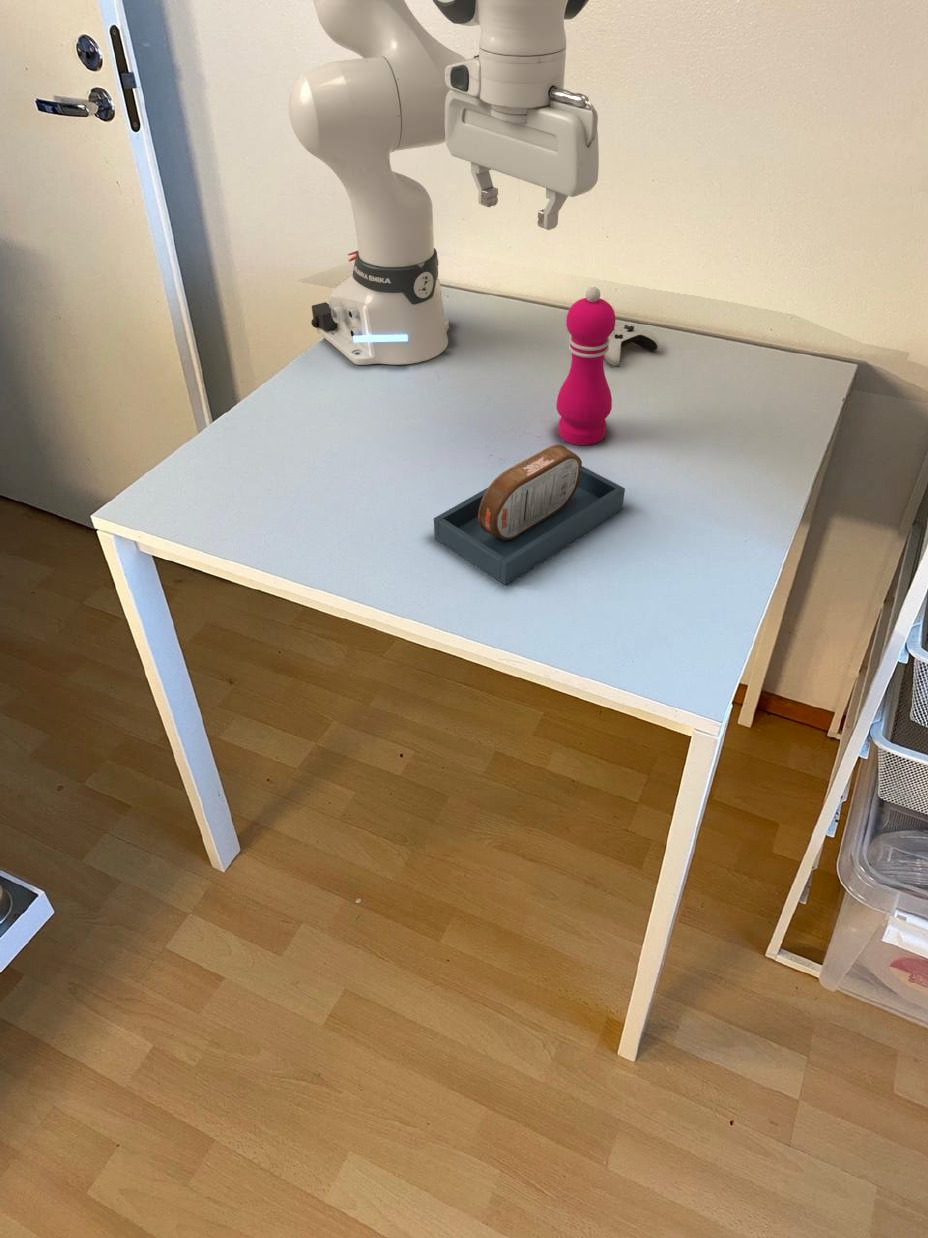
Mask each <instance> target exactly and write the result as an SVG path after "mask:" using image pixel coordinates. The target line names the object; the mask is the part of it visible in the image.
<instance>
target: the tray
mask: <svg viewBox="0 0 928 1238" xmlns="http://www.w3.org/2000/svg"><path fill="white" fill-rule="evenodd" d="M488 488H489V486H488V487H486V488H485V489H483V490H481V491H479V492H478V493H476V494H474V495H472V496H471V497H468V498H467V499H465V500H463V501H462V502H460V503H458V504H456V505H455V506H453V507H451V508H449V509H448V510H445V511H444V512H442V513H440V514H438V515H436V516H435V517H433V531H434V533H433V535H434V540H436V541H437V542H439V543H440V544H442V545H443V546H445V547H446V548H448V549H450V550H451V551H452V552H454V553H455V554H457V555H459V556H460V557H462V558H463V559H465V560H466V561H467V562H469V563H470V564H472V565H474V567H477V569H478V568H479V569H480V570H482V571H483V572H485V574H487V575H489V576H490V577H492V578H493V579H495V580H496V581H498V582H500V583H501V584H503V585H505V586H506V585H508V584H509V583H511V582H512V581H514V580H515V579H517V578H519V577H520V576H521V575H523V574H525V573H526V572H528V571H530V570H531V569H532V568H534V567H535V566H537V565H538V564H540V563H541V562H543V561H545V560H546V559H548V558H549V557H552V556H553V555H554V554H555V553H557V552H559V551H560V550H562V549H563V548H565V547H566V546H568V545H570V544H571V543H572V542H574V541H575V540H577V539H579V538H580V537H582V536H583V535H585V534H586V533H588V532H590V531H591V530H592V529H594V528H596V527H597V526H598V525H600V524H601V523H603V522H605V521H606V520H608V519H610V518H611V517H613V516H614V515H615V514H617V513H618V512H620V511H622V510H623V509H624V508H623V507H624V500H625V493H626V492H625V491H626V488H625V487H623V486H621V485H619V484H618V483H616V482H613V481H612V480H609V479H608V478H607V477H604V476H602V475H600V474H599V473H596V472H594V471H592V470H591V469H589V468H587V467H585V466H583V465H582V466H581V475H580V479H579V484H578V487H577V489H576V491H575V493H574V495H573V496H572V498H571V499H570V501H569V502H568V503H567V504H566V505H565V506H564V507H563V508H562V509H561V510H560V511H558V512H557V513H555V514H554V515H552V516H550V517H549V518H547V519H545V520H544V521H542V522H540V523H539V524H537V525H536V526H534V527H532V528H531V529H529V530H527V531H526V532H524V533H522V534H521V535H519V536H517V537H515V538H513V539H511V540H500V539H498V538H496V537H494V536H493V535H491V534H490V533H488V532H486V531H484V530H483V529H482V528H481V527H480V524H479V521H478V512H479V507H480V504H481V501H482V498H483V496H484V494H485V492H486V491H487V489H488Z"/></svg>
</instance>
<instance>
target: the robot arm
mask: <svg viewBox="0 0 928 1238" xmlns="http://www.w3.org/2000/svg"><path fill="white" fill-rule="evenodd" d="M589 1H590V0H432V3H434V5H435V7H437V9H438V10H439V11H440V13H441V14H442V15H443V16H444V17H445V18H446V19H447V20H448V21H450V22H451V23H452V24H454V25H461V26H466V27H474V26H475V27H476V26H479V27H480V39H479V43H478V54H476V55H474V56H473V57H472V58H468V59H466V57H464V56H463V55H462V54H460V53H457V52H456V51H454V50H452V49H450V48H448V47H447V46H445V45H444V44H442V43H441V42H440V41H438V40H437V39H436V38H435V37H434V36H433V35H432V34H431V33H429V32H428V30H427V29H425V27H424V26H423V25H422V24H421V23H420V22H419V20H418V19H417V18H416V17H415V15H414V13H413V12H412V11H411V9H410V8H409V6H408V5H407V4H408V3H406V0H312V2H313V4H314V8H315V11H316V14H317V18H318V22H319V24H320V26H321V28H322V29H323V31H324V32H325V33H326V35H327V36H328V37H329V38H330V39H331V40H332V41H333V42H334V43H335V44H337V45H338V46H341V47H342V48H343V49H346V50H349V51H351V52H352V53H355V54H357V55H359V56H360V57H361V58H353V59H345V60H336V61H330V62H327V63H324V64H322V65H319V66H316V67H314V68H311V69H308V70H306V71H302V72H300V73H299V74H298V75H297V77H296V78H295V80H294V82H293V84H292V86H291V89H290V94H289V100H288V115H289V121H290V124H291V128H292V130H293V133H294V135H295V137H296V138H297V140H298V141H299V143H300V144H301V145H302V147H303V148H304V149H305V150H306V151H307V152H308V153H310V155H312V156H313V157H315V158H316V159H318V160H320V161H322V162H323V163H324V164H325V165H326V166H327V167H328V168H329V169H330V170H332V171H333V173H334V174H335V175H336V176H337V178H338V179H339V180H340V182H341V183H342V186H343V187H344V189H345V191H346V193H347V196H348V198H349V201H350V204H351V209H352V214H353V215H352V216H353V220H354V226H355V227H354V228H355V234H356V242H357V250H355V251H353V252H349V253H347V256H351V257H349V258H348V259H347V260H348V262H352V261H354V264H353V270H352V274H351V275H350V276H349V277H347V278H346V279H345V280H344V281H342V282H341V283H340V284H339V285H337V286H336V287H335V288H333V290H332V291H331V292H330V295H329V299H328V302H326V301H324V302H321V303H317V304H313V305H311V312H312V319H311V322H310V323H311V325H312V326H311V327H313V328H315V330H316V332H317V333H318V334H319V335H320V336H321V337H323V338H324V339H325V340H326V341H328V343H329V344H331V345H332V346H333V347H334V348H335V349H337V350H338V351H339V352H340V353H342V354H343V355H344V356H345V357H346V358H347V359H348V360H350V361H351V362H352V363H353V364H355V365H358V366H365V365H376V364H381V365H411V364H412V365H413V364H417V363H423V362H425V361H428V360H430V359H431V360H432V359H433V358H436V357H437V356H439V355H441V354H442V353H443V352H444V351H445V350H446V349H447V347H448V346H449V337H448V334H447V333H448V332H449V329H450V322H449V320H448V318H445V317H446V316H445V309H444V302H443V295H442V285H441V282H440V279H439V278H438V277H439V258H438V251H437V250H436V248H435V241H434V240H435V239H434V238H435V237H434V234H435V233H434V211H433V210H434V209H433V207H434V206H433V201H432V199H431V195H430V193H429V191H428V190H427V189H426V188H425V186H423V184H422V183H420V182H418V181H417V180H415V179H413V178H411V177H409V176H407V175H404V174H402V173H399V172H396V171H393V169H392V166H391V154H392V153H394V152H396V151H404V150H412V149H418V148H425V147H426V148H427V147H433V146H438V145H442V144H444V143H445V145H446V147H447V150H448V152H449V153H450V156H452V157H454V158H458V159H460V160H464V161H466V162H469V163H470V173H471V176H472V178H473V180H474V183H475V185H476V189H477V190H478V192H477V194H478V200H477V202H478V204H479V205H481V206H484V207H486V208H491V207H494V206H497V204H498V202H499V197H498V195H499V188H497V187H495V186H494V184H493V180H492V176H491V172H490V171H491V170H492V171H495V172H497V173H500V174H503V175H506V176H510V177H512V178H515V179H518V180H521V181H524V182H526V183H529V184H532V185H535V186H538V187H541V188H544V189H545V198H546V199H549V200H548V202H547V204H546V206H545V208H544V209H540V210H538V211H537V219H538V220H537V226H538V227H539V228H541V229H545V230H547V231H550V230H554V229H555V228H557V226H558V224H559V212H560V211H561V209H562V207H563V206H564V204H565V202H566V201H567V199H568V197H571V198H574V197H578V196H581V195H584V194H586V193H589V192H590V191H592V189H594V187H595V186H596V184H597V183H598V180H599V169H600V168H599V167H600V166H599V165H600V164H599V163H600V161H599V158H600V157H599V156H600V155H599V150H600V149H599V132H598V123H599V114H598V111H597V109H596V108H595V106H594V105H593V103H592V102H590V99H589V96H587V95H585V94H584V93H579V92H576V93H575V92H572V91H569V90H567V89H565V88H564V87H565V75H566V74H565V73H566V58H567V35H566V31H565V20H566V21H567V20H572V19H574V18H576V17H577V16H578V15H579V14H580V13H581V12H582V10H583V9H584V8H585V7H586V5H587V4H588V2H589Z"/></svg>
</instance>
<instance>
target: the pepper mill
mask: <svg viewBox="0 0 928 1238" xmlns="http://www.w3.org/2000/svg"><path fill="white" fill-rule="evenodd" d="M615 313H616V312H615V310H614V308H613V306H612V305H611V304H610V303H609V302H608V301H606V299H603V298H601V291H600V289H599V288H598V287H596V286H590V287H588V288H587V289H586V291H585V297H582V298H580V299H579V300H576V301H575V302H574V303H573V304H572V305H571V306H570V308H569V309H568V311H567V314H566V319H565V326H566V329H567V331H568V333H569V334H570V336H569V337H568V342H569V344H568V350H569V351H570V353H571V362H570V369H569V372H568V375H567V377H566V378H565V380H564V381H563V383H562V385H561V387H560V389H559V392H558V394H557V398H556V403H555V405H556V411H557V414H558V415H559V417H560V418H559V420H558V435H559V437H560V438H561V439H562V440H563V441H565V442H566V443H569V444H572V445H576V446H591V445H595V444H597V443H599V442H601V441H602V440H603V439H604V438H605V436H606V429H607V421H606V419H607V418H608V417H609V415H610V413H611V412H612V408H613V399H612V392H611V389H610V386H609V384H608V383H609V382H608V381H607V378H606V375H605V369H604V362H605V361H604V360H605V358H604V355H605V354H606V353H607V352H608V350H609V346H608V344H609V342H610V340H609V338H608V336H609V335H610V334H611V333H612V332H613V330H614V328H616V319H617V318H616V314H615Z"/></svg>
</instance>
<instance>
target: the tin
mask: <svg viewBox="0 0 928 1238" xmlns="http://www.w3.org/2000/svg"><path fill="white" fill-rule="evenodd" d="M581 466H583V462H582V459H581V458H580V456H578V455H577V454H576V453H575V452H573V451H571V450H570V449H569V448H567V447H566V446H565V445H563V444H560V443H558V444H557V443H556V444H552V445H549V446H548V447H546V448H544V449H542V450H540V451H539V452H537V453H535V454H533V455H531V456H530V457H528V458H526V459H524V460H522V461H521V462H518V463H517V464H514V465H513V466H511V467H510V468H508V469H506V470H504V471H503V472H501V473H500V474H499V475H498V476H497V477H496V478H495V479H493V481H492V482H491V483H490V485H489V486H488V487H489V488H488V487H487V488H488V489H487V491H486V492H485V494H484V496H483V498H482V501H481V504H480V507H479V512H478V521H479V524H480V527H481V528H482V529H483V530H484V531H486V532H488V533H490V534H491V535H493V536H494V537H496V538H498V539H500V540H511V539H513V538H515V537H517V536H519V535H521V534H522V533H524V532H526V531H527V530H529V529H531V528H532V527H534V526H536V525H537V524H539V523H540V522H542V521H544V520H545V519H547V518H549V517H550V516H552V515H554V514H555V513H557V512H558V511H560V510H561V509H562V508H563V507H564V506H565V505H566V504H567V503H568V502H569V501H570V499H571V498H572V496H573V495H574V493H575V491H576V489H577V487H578V484H579V479H580V475H581Z"/></svg>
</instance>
